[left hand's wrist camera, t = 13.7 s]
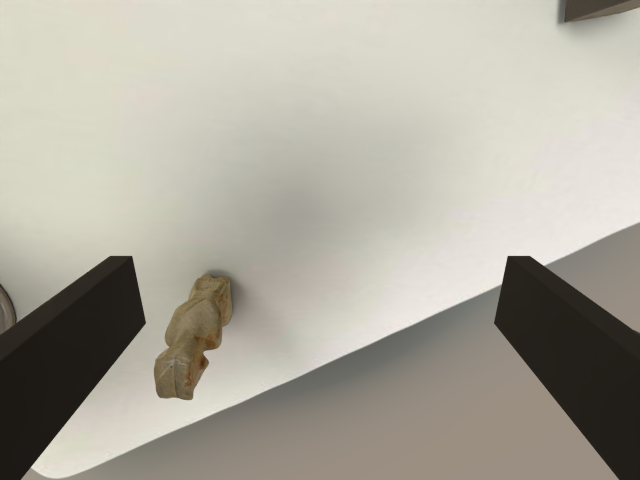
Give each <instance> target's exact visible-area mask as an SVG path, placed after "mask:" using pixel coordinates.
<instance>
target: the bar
mask: <svg viewBox="0 0 640 480" xmlns="http://www.w3.org/2000/svg"><path fill="white" fill-rule="evenodd" d="M639 7H640V0H566V11H565V22H570V21H576V20H582V19H588V18H594V17H600V16H606V15H612V14H618V13H622V12H625V11H629V10H632V9H635V8H639Z"/></svg>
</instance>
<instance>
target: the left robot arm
mask: <svg viewBox="0 0 640 480" xmlns="http://www.w3.org/2000/svg"><path fill="white" fill-rule="evenodd" d="M145 324H146V321H145V316H144V311H143V307H142V302H141V297H140V292H139V287H138V282H137V277H136V272H135V268H134V263H133V258H132V256H110V257H108V258H107V259H105V260H104V261H103V262H101V263H100V264H98V265H97V266H96V267H94V268H93V269H91V270H90V271H89V272H87V273H86V274H84V275H83V276H82V277H80V278H79V279H77V280H76V281H75V282H73V283H72V284H70V285H69V286H68V287H66V288H65V289H64V290H62V291H61V292H59V293H58V294H57V295H55V296H54V297H52V298H51V299H50V300H48V301H47V302H45V303H44V304H43V305H41V306H40V307H38V308H37V309H36V310H34V311H33V312H31V313H30V314H29V315H27V316H26V317H24V318H23V319H22V320H20V321H19V322H17V323H16V324H15V314H14V310H13V307H12V304H11V302H10V300H9V298H8V296H7V295H6V293H5V292H4V290H3V289H2V288H1V287H0V480H21V479H22V477H23V476H24V475H25V474H26V472H27V471H28V470H29V469H30V467H31V466H32V465H33V464H34V462H35V461H36V460H37V459H38V457H39V456H40V455H41V454H42V452H43V451H44V450H45V449H46V447H47V446H48V445H49V444H50V442H51V441H52V440H53V439H54V437H55V436H56V435H57V434H58V432H59V431H60V430H61V429H62V427H63V426H64V425H65V424H66V422H67V421H68V420H69V419H70V417H71V416H72V415H73V414H74V412H75V411H76V410H77V409H78V407H79V406H80V405H81V404H82V402H83V401H84V400H85V399H86V397H87V396H88V395H89V394H90V392H91V391H92V390H93V389H94V387H95V386H96V385H97V384H98V382H99V381H100V380H101V379H102V377H103V376H104V375H105V374H106V372H107V371H108V370H109V369H110V367H111V366H112V365H113V364H114V362H115V361H116V360H117V359H118V357H119V356H120V355H121V354H122V352H123V351H124V350H125V349H126V347H127V346H128V345H129V344H130V342H131V341H132V340H133V339H134V337H135V336H136V335H137V334H138V332H139V331H140V330H141V329H142V327H143V326H144V325H145ZM494 324H495V325H496V326H497V327H498V329H499V330H500V331H501V332H502V334H503V335H504V336H505V337H506V339H507V340H508V341H509V342H510V344H511V345H512V346H513V347H514V349H515V350H516V351H517V352H518V354H519V355H520V356H521V357H522V359H523V360H524V361H525V362H526V364H527V365H528V366H529V367H530V369H531V370H532V371H533V372H534V374H535V375H536V376H537V377H538V379H539V380H540V381H541V382H542V384H543V385H544V386H545V387H546V389H547V390H548V391H549V392H550V394H551V395H552V396H553V397H554V399H555V400H556V401H557V402H558V404H559V405H560V406H561V407H562V409H563V410H564V411H565V412H566V414H567V415H568V416H569V417H570V419H571V420H572V421H573V422H574V424H575V425H576V426H577V427H578V429H579V430H580V431H581V432H582V434H583V435H584V436H585V437H586V439H587V440H588V441H589V442H590V444H591V445H592V446H593V447H594V449H595V450H596V451H597V452H598V454H599V455H600V456H601V457H602V459H603V460H604V461H605V462H606V464H607V465H608V466H609V467H610V469H611V470H612V471H613V472H614V474H615V475H616V476H617V477H618V479H619V480H640V333H639V332H637V331H635V330H632V329H631V328H629V327H628V326H627V325H625V324H624V323H623V322H621V321H620V320H618V319H617V318H616V317H614V316H613V315H611V314H610V313H609V312H607V311H606V310H604V309H603V308H601V307H600V306H599V305H597V304H596V303H595V302H593V301H592V300H590V299H589V298H588V297H586V296H585V295H583V294H582V293H581V292H579V291H578V290H576V289H575V288H574V287H572V286H571V285H570V284H568V283H567V282H565V281H564V280H563V279H561V278H560V277H558V276H557V275H556V274H554V273H553V272H551V271H550V270H549V269H547V268H546V267H544V266H543V265H542V264H540V263H539V262H537V261H536V260H535V259H533V258H532V257H530V256H508V258H507V263H506V267H505V272H504V277H503V282H502V287H501V292H500V297H499V302H498V307H497V311H496V317H495V321H494Z"/></svg>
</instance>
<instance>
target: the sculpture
mask: <svg viewBox="0 0 640 480" xmlns="http://www.w3.org/2000/svg"><path fill="white" fill-rule="evenodd" d="M231 317H232V299H231V293H230V278H228V277H224V276H220V277H218V278H213V276H212V275H202V276H201V278H198V279H197V280H196V282H195V284H194V286H193V288H192V290H191V292H190V295H189V299H188V301H187V302H185V303H184V304H182V305H181V306H179V307H178V308H177V309H176V310H175V312H174V314H173V317H172V319H171V321H170V324H169V326H168V328H167V331H166V334H165V341H166V344H167V345H168V346H169V348H168V349H167V350H165V351H164V352H163V353H162V354H160V355H159V356H158V357H157V359H156V360H155V367H154V377H155V383H156V392H157V394H158V396H159V397H160V398H172V397H176V398H180V399H184V400H192V399H193V391H194V388H195V387H196V385H197V383H198V381H199V379H200V377H201V375H202V374H203V372H204V370H205V369H206V368H207V366H208V364H209V361H208V360H207V358H206V357H205V356H204V354H203V352H204V351H206V350H213V349H216V348H218V347H219V346H220V344H221V341H222V327H223V326H226V325H227V324H228V323H229V321H230V320H231Z"/></svg>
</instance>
